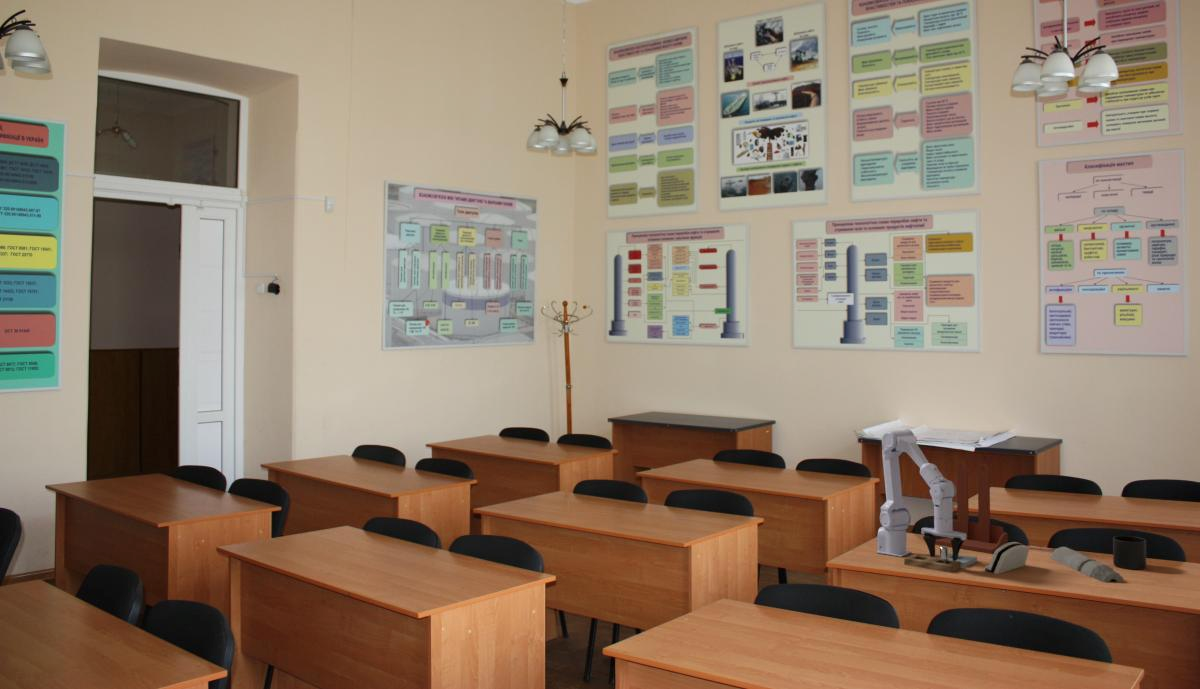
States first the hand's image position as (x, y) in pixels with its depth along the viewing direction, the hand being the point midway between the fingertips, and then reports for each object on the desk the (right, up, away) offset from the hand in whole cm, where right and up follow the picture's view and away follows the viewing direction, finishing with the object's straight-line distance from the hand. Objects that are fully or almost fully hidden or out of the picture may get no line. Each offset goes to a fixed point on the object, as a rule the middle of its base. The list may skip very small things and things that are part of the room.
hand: (943, 558), depth 312 cm
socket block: (+7, -3, +7) cm, 10 cm away
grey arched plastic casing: (+20, -3, -3) cm, 21 cm away
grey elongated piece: (+45, -3, -5) cm, 45 cm away
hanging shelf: (+19, -2, +30) cm, 36 cm away
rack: (-3, -3, +3) cm, 5 cm away
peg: (0, -3, 0) cm, 3 cm away
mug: (+60, -2, -2) cm, 60 cm away
